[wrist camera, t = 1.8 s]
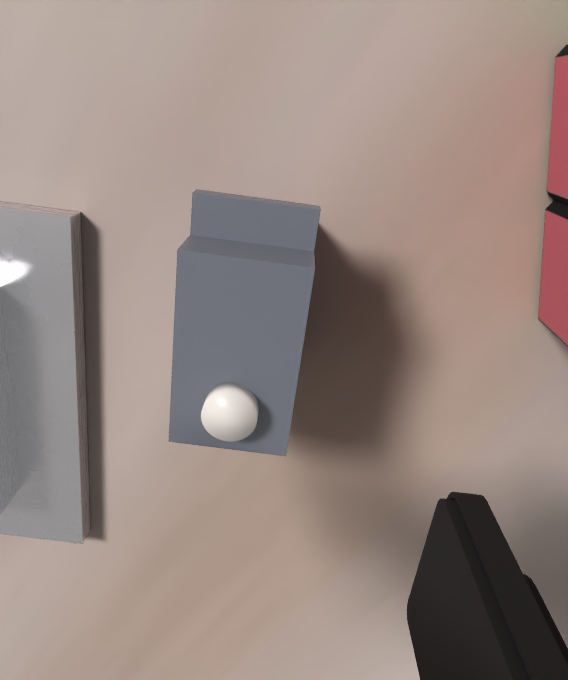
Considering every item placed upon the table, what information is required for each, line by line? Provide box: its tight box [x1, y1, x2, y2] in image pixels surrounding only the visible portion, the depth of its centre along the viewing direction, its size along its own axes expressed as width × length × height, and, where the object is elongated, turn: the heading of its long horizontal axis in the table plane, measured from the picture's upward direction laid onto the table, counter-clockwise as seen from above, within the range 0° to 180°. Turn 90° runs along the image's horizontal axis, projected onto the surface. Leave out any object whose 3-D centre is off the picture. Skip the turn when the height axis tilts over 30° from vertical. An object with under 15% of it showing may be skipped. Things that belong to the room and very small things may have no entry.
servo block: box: [169, 189, 320, 456], centre depth 18 cm, size 8×4×8 cm, turn 173°
